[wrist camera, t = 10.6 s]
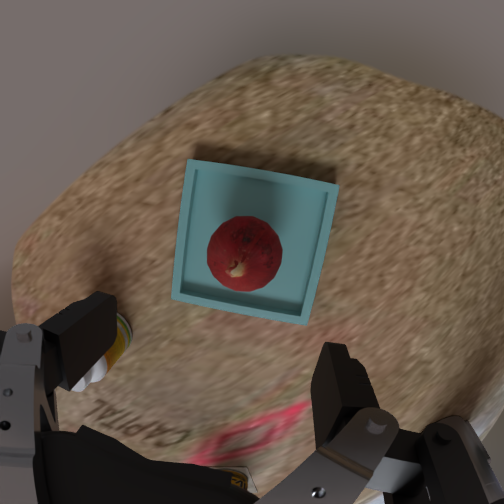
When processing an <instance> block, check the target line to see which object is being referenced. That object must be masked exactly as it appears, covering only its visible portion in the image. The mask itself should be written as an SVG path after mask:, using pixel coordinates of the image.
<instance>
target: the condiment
mask: <svg viewBox="0 0 504 504" xmlns="http://www.w3.org/2000/svg"><path fill="white" fill-rule="evenodd" d="M210 468H212V469H217V470H222V471H227V472H232V473H233V475H232V480H231V483H232V484H235V485H237V486H240V487H241V488H243V489H245V490H247V491H249V492H251V493H256V492H257V490H256V488H255V486H254V483H253V481H252V478H251V476H250V473H249V471H248V469H247V467H210Z"/></svg>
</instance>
